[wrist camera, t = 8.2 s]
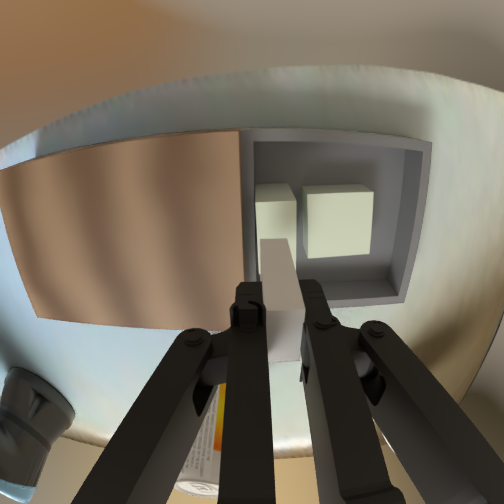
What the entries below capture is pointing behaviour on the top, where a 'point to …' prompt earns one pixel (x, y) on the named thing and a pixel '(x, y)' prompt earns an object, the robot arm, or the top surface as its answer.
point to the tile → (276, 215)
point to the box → (339, 173)
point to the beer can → (205, 453)
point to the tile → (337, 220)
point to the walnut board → (131, 230)
